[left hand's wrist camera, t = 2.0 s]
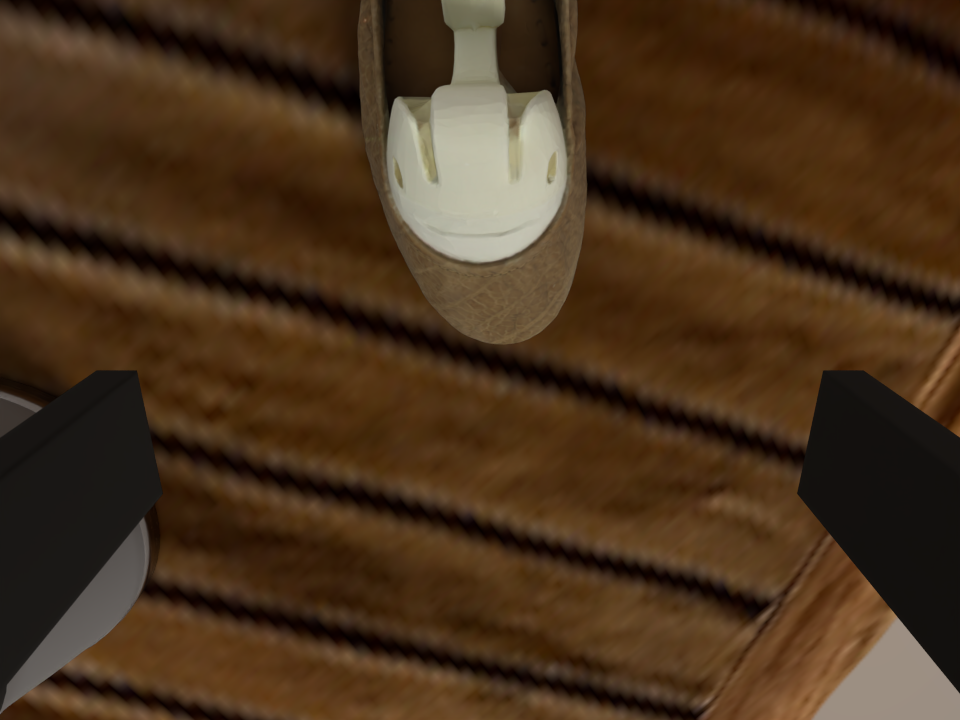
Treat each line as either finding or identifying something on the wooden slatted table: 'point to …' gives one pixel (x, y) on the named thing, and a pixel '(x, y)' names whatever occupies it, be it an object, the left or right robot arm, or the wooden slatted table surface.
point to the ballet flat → (478, 153)
